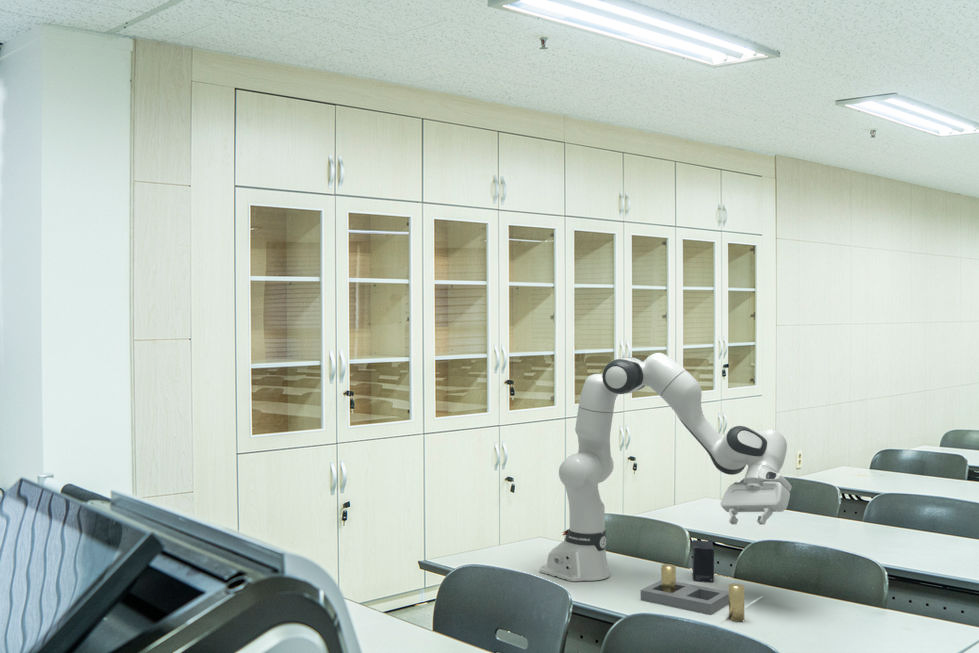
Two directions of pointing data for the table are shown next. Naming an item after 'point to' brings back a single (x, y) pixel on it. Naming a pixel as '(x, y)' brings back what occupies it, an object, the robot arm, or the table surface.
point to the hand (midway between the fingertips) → (746, 523)
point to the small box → (703, 561)
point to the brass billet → (736, 602)
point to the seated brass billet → (668, 578)
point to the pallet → (687, 597)
